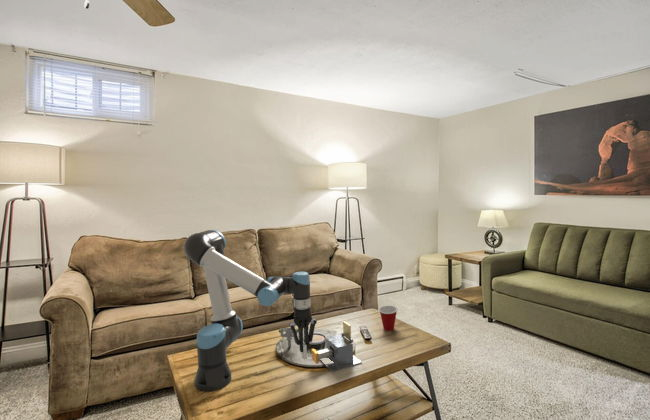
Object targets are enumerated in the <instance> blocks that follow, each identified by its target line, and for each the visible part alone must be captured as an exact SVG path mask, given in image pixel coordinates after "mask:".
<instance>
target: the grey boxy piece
mask: <svg viewBox="0 0 650 420" xmlns="http://www.w3.org/2000/svg"><path fill="white" fill-rule="evenodd" d="M353 343H354V339H353V338H352V337H351V339H347V338H346V337H345V336H344V335H343V332H341V333H339V334H335V335H331V336H327V337H325V349H327V348H331V347H332V348H333V349H334V356H331V357H328V358H329V359H330V360H331V361H333V362H334V364H331V365H326V366H325V368H327V370H329V371H330V373H334V372H338V371H341V370H343V369H346V368H347V369H348V368H351V367H354V366H357V365H360V364H362V363H363V362H362V360H361V359H359V358H358V357H356V355H354V344H353Z"/></svg>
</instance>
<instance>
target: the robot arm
mask: <svg viewBox="0 0 650 420" xmlns="http://www.w3.org/2000/svg"><path fill="white" fill-rule="evenodd" d="M183 245H184V246H183V249H184V254H185V255H186V257H187V258H188V259H189V260H190V261H191V262H193V263H194V264H196V265H197V266H198V267H201V268H202V267H203V272H204V276H205V281H206V286H207V291H208V296H209V300H210V306H211V311H212V316H211V318H210V324H208V325H205V326H202V328H200V329H199V330H198V331H197V334H196V341H195V342H196V350H197V353H196V354H197V365H198V367H197V370H196V374H195V377H194V387H195V388H196V389H197V390H198V389H199V390H198V391H201V392H211V391H217V390H220V389H222V388H224V387H226V386H227V385H228V384H229V383H230V382H231V381H232V370H231V369H230V366H229V364H228V361H227V349H228V348H229V347H230V345H232V344H233V343H234V342H235V341H237V340H238V338H239V337H240V335H241V334H242V332H243V328H244V327H243V321H242V319H241V318H240V317H239V316H238V315H237V312H236V310H234V309H233V308H232V305H231V299H230V295H229V290H228V289H229V287H228V284H227V280H228V281H229V282H230V283H231V282H232V283H233V284H234V285H236V286H238V287H240V288H242V289H243V290H244V291H247V292H248V293H250V294H252V295H254V296H255V297H256V298H257V301H258V303H259V304H260V305H262V306H263V307H270V306H272V305H273V304H275V303H276V302H277V301H278V300H279V298H280V297H282V296H283V295H293V296H292V297H293V314H294V317H293V322H292V323H289V325H288V326H289V327H288V328H291V330H292V333H293V337H292V338H293V340H294V342H295V344H296V345H297V346H299V347H298V348H299V352H300V353H301V358H302V359H303V361H305V360H308V351H309V345H310V343H312V342H313V340H314V339H313V338H314V333H315V327H316V325H317V323H318V321H317V320H316V319H315V318H313V317H312V307H311V281H310V273H308V272H307V271H297V272H294V273H292V276H269V277H268V278H267V279H264V278H262V277H261V276H259V275H257V274H255V273H253V271H251V270H249V269H247V268H245V267H243V266H242V265H240V264H239V263H237V262H235V261H234V260H232V259H230V258H229V257H227V256H225V252H224V250H225V248H226V245H227V240H226V237H225V236H224V234H223V233H222V232H220V231H218V230H216V229H211V230H210V229H209V230H208V229H207V230H204V231H201V232H196V233H193V234H191V235H189V236H188V237H187V239H186V240H185V242H184V244H183ZM309 325H310V326H309ZM296 326H297V328H296ZM296 329H298V333H296Z"/></svg>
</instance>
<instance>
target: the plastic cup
mask: <svg viewBox="0 0 650 420" xmlns="http://www.w3.org/2000/svg"><path fill="white" fill-rule="evenodd" d="M378 312H379V314H380V318H381V323H382V327H383V330H384V331H387V332H390V331H391V332H392V331H394V329H395V325H396V318H397V317H396V316H397V312H398V308H397V306H393V305H383V306H380V307H379V308H378Z"/></svg>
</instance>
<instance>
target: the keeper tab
mask: <svg viewBox="0 0 650 420" xmlns="http://www.w3.org/2000/svg"><path fill="white" fill-rule="evenodd" d="M342 326H343V327H342V329H343V331H342V333H343V335H344V337H345V338H346V339H347V340H349V339H351V338H352V326H351V324H349V323H348V322H346V321H345V320H343V321H342Z"/></svg>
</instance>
